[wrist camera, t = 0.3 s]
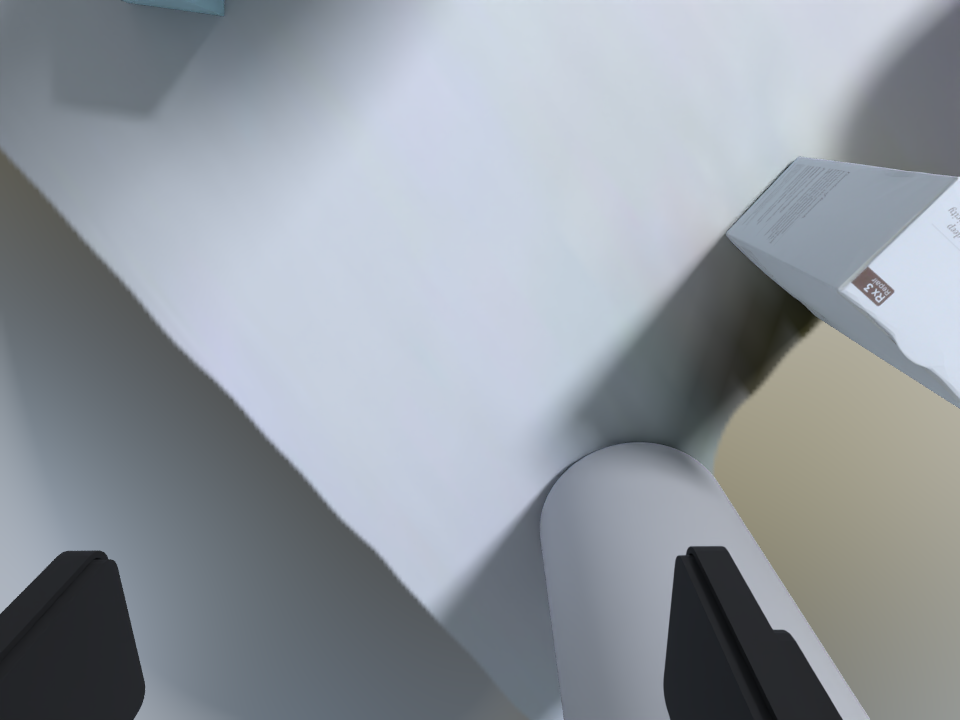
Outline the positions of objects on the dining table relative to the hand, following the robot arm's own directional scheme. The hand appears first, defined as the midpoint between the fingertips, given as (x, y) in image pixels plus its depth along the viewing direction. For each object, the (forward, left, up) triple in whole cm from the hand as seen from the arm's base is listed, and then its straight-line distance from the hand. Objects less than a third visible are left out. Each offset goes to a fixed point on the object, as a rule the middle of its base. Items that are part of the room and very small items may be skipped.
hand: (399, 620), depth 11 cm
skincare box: (-4, +20, -30) cm, 36 cm away
